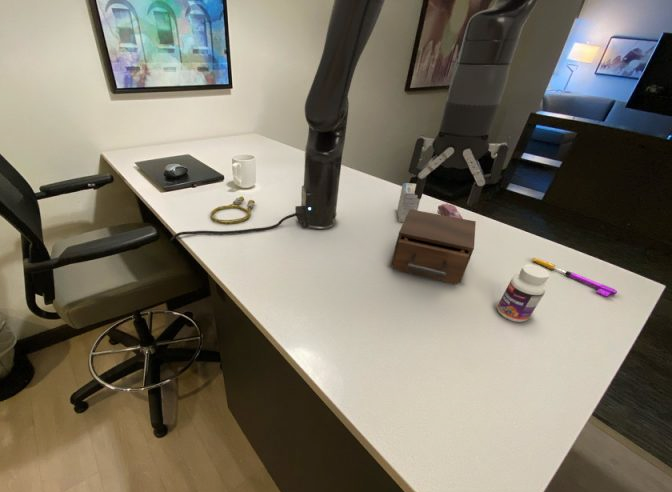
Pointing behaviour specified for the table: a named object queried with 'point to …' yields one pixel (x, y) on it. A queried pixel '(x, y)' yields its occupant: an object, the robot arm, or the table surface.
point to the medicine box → (407, 201)
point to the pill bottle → (523, 293)
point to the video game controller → (449, 211)
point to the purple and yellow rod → (581, 279)
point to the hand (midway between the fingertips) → (443, 201)
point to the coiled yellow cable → (237, 201)
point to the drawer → (430, 260)
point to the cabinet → (438, 231)
